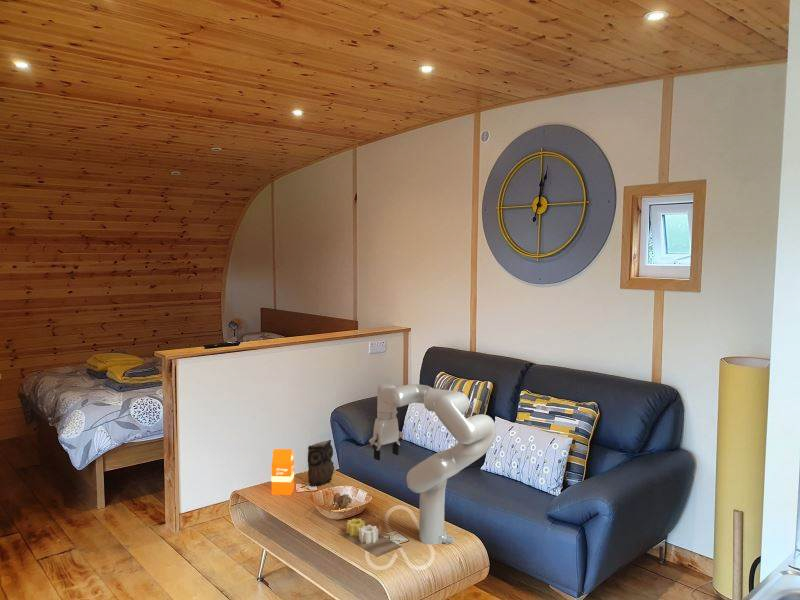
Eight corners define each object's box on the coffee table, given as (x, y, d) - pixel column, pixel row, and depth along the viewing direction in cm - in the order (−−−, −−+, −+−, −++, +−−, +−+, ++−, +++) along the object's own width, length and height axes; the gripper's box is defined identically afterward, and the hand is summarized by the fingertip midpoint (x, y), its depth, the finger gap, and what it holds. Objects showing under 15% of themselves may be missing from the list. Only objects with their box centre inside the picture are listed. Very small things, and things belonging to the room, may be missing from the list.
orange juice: (290, 495, 279) (290, 452, 277) (271, 494, 279) (271, 451, 278) (294, 488, 287) (294, 446, 285) (275, 488, 287) (275, 446, 285)
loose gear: (381, 539, 233) (381, 529, 233) (367, 545, 228) (367, 534, 228) (369, 533, 238) (370, 523, 238) (355, 538, 233) (355, 528, 233)
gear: (368, 530, 240) (368, 520, 240) (359, 537, 234) (359, 527, 234) (352, 526, 244) (352, 517, 243) (343, 534, 237) (343, 524, 237)
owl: (334, 478, 300) (334, 438, 298) (329, 488, 287) (329, 446, 286) (309, 477, 301) (309, 437, 299) (303, 487, 288) (302, 445, 287)
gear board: (402, 550, 228) (402, 538, 227) (376, 560, 220) (377, 548, 219) (362, 528, 246) (362, 517, 245) (337, 537, 238) (337, 526, 237)
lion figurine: (353, 515, 258) (353, 494, 257) (342, 518, 255) (342, 497, 254) (336, 503, 270) (336, 483, 269) (325, 506, 267) (325, 486, 266)
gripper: (396, 409, 254) (396, 450, 255) (363, 416, 242) (363, 459, 244) (409, 413, 248) (408, 454, 249) (375, 420, 237) (375, 464, 238)
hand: (386, 456), depth 246 cm, fingers open, 9 cm apart
